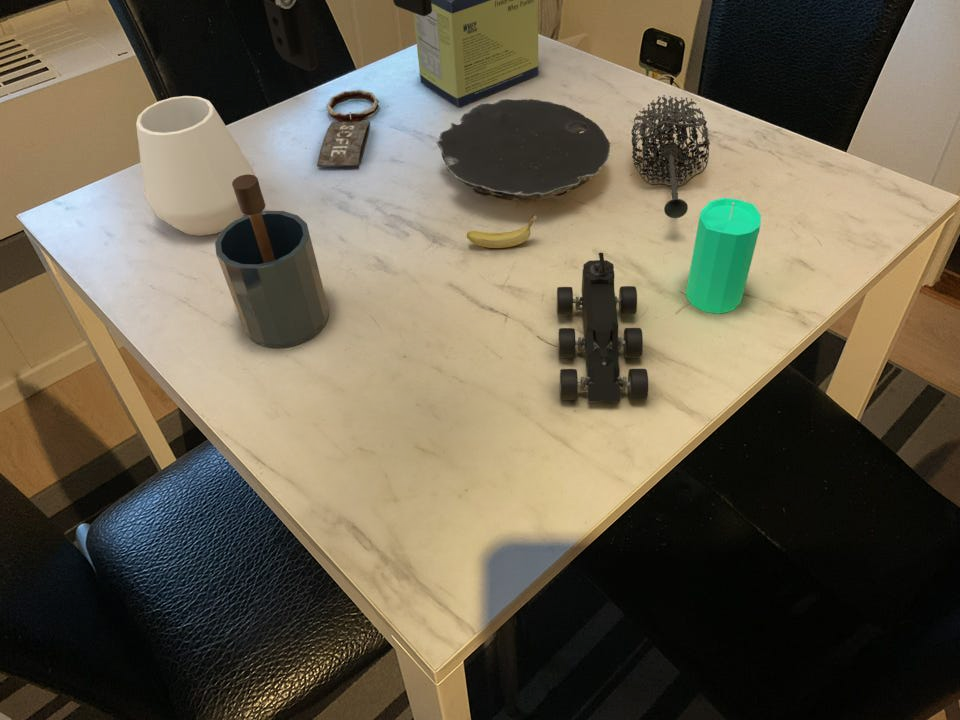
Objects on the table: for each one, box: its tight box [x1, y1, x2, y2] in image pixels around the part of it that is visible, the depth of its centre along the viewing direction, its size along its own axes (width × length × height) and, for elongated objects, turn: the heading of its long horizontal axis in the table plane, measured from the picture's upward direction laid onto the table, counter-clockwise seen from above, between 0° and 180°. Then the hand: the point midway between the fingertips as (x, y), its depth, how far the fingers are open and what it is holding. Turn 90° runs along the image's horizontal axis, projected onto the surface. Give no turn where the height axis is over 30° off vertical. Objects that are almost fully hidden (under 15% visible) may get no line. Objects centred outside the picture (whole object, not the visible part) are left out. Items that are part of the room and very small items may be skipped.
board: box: [436, 98, 611, 203], centre depth 102 cm, size 22×22×5 cm
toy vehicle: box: [556, 252, 649, 403], centre depth 78 cm, size 8×15×9 cm, turn 178°
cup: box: [135, 95, 256, 237], centre depth 96 cm, size 13×13×14 cm
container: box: [214, 210, 330, 349], centre depth 83 cm, size 9×9×11 cm
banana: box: [466, 213, 537, 249], centre depth 93 cm, size 8×2×4 cm, turn 94°
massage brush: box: [630, 94, 711, 219], centre depth 97 cm, size 9×22×9 cm, turn 174°
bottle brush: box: [232, 174, 275, 263], centre depth 81 cm, size 4×4×17 cm
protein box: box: [412, 0, 540, 108], centre depth 117 cm, size 10×16×16 cm
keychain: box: [316, 89, 380, 168], centre depth 113 cm, size 8×19×2 cm, turn 177°
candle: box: [685, 197, 762, 315], centre depth 82 cm, size 6×6×12 cm
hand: (358, 35), depth 52 cm, fingers open, 9 cm apart
